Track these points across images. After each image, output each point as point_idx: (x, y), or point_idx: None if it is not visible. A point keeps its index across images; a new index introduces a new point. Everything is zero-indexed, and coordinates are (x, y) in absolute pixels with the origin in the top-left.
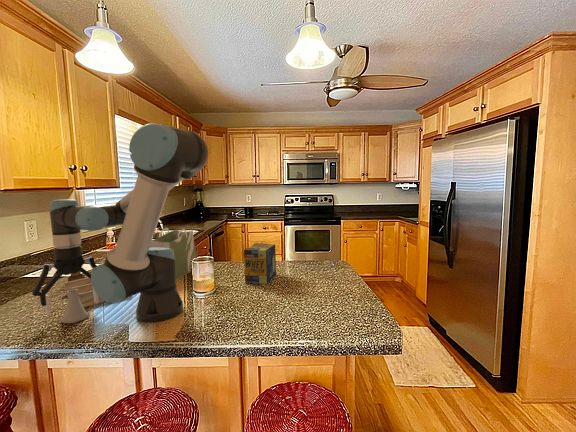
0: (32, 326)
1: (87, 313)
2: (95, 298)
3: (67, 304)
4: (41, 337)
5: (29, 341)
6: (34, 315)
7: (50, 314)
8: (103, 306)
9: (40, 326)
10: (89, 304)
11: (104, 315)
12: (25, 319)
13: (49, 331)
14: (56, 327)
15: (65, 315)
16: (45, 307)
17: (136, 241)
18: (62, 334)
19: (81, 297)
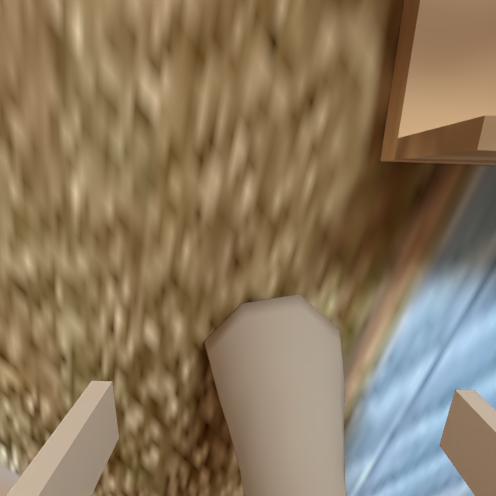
0: (61, 265)
1: (344, 388)
2: (474, 475)
3: (239, 465)
4: None
5: None
6: (75, 2)
7: (114, 445)
8: (485, 276)
9: (101, 305)
10: (451, 162)
11: (400, 428)
12: (14, 53)
13: (134, 414)
14: (170, 391)
15: (220, 400)
16: (52, 439)
17: None
18: (176, 490)
19: (457, 156)
